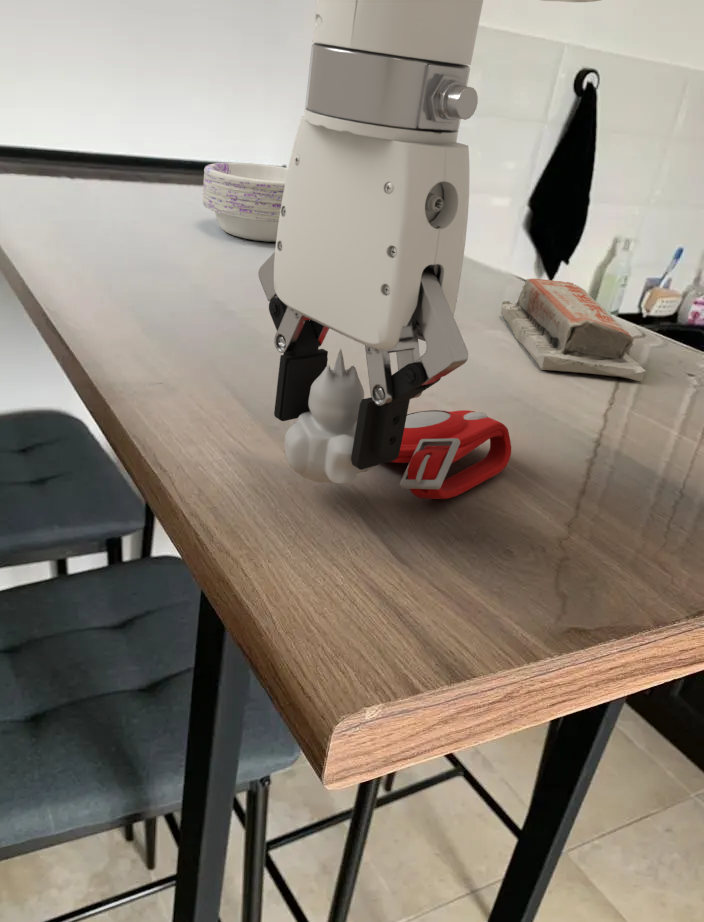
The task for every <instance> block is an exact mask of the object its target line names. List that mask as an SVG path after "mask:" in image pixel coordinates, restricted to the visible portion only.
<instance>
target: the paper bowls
mask: <svg viewBox="0 0 704 922" xmlns="http://www.w3.org/2000/svg"><path fill="white" fill-rule="evenodd" d="M203 172H204V173H203V185H202V187H203V188H202V189H203V190H202V200H203V201H202V205H203V206H204V207H205V208H206V209H208V210H210V211H212V212H214V214H215V218H216V220H217V224H218V225H219V227H220V229H221V230H223V231H224V232H225V233H227V234H229V235H232V236H235V237H238V238H240V239H241V238H242V239H245V240H251V241H257V242H269V243H270V242H272V243H273V242H275V243H276V239H277V230H278V223H279V216H280V210H281V203H282V198H283V192H284V187H285V181H286V177H287V172H288V167H286V166H278V165H270V164H263V163H252V162H250V163H249V162H215V163H210V164H207V165H205V166H204V169H203Z"/></svg>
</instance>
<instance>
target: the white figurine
mask: <svg viewBox="0 0 704 922" xmlns="http://www.w3.org/2000/svg"><path fill="white" fill-rule="evenodd" d="M362 399H365V389H364V387H363V384H362V382H361V380H360V377H359V375H358V371H357V368H356V367H355V365H351V366H350V367H349V368H347V369H346V366H345V360H344V354H343V351H342V348H339V351H338V352H337V357H336V359H335V364H334V367H333V369H332V368H331V366H330V364H327V366H326V368H325V369H324V371H323V372H322V373H321V375H320V376H319V377H318V378H317V379H316V380H315V381H314V382H313V383H312V385H311V390H310V395H309V401H308V405H309V409H310V411H311V412H306V413H303V414H301V415H300V416H299V417H298V418H296V422H295V423H293V424H292V425H291V426H290V427H289V428H288V429H287V431H286V433H285V436H284V455H285V458H286V460H287V462H288V464H289V466H290V467H291V469H292V470H293V471H294V472H295V473H297V474H299V475H301V476H302V477H304V478H305V479H308V480H310V481H313V482H316V483H325V484H326V483H327V484H328V483H334V484H336V485H352V484H353V483H355V481H356V479H357V476H358V475H359V474H360V473H366V472H368V471H369V470H370V469H371V468H372V467H370V468H366V469H362V470H360V469H358V468H357V467H355V466H353V465H352V461H351V456H352V450H353V443H354V437H355V431H356V425H357V418H358V412H359V406H360V403H361V400H362Z"/></svg>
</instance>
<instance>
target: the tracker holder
mask: <svg viewBox="0 0 704 922" xmlns="http://www.w3.org/2000/svg"><path fill="white" fill-rule="evenodd" d="M487 441H489V450H488V453H487V454H486V456H485V457H484V458H482V459H481V460H478V461H477V462H475V463H474V464H472V465H470V466H468V467H466V468H464V469H463V470H461V471H458V472H457V473H455V474H453V475H451V476H449V477H448V478H446V477H447V474H448V472H449V470H450V467H451V465H452V464H453V463H455V462H457V461H459V460H460V459H462V458H464V457H465V456H466V455H468V454H469V453H471V452H472V451H474V450H475V449H477V448H478V447H480V446H481V445H483V444H484V443H485V442H487ZM511 455H512V442H511V437H510V432H509V429H508V427H507V426H506V425H505V424H504V423H502V422H500V421H498V420H496V419H494V418H492V417H489V416H488V415H487V414H486V413H484V412H481V411H475V410H465V409H463V410H453V411H452V410H451V411H447V410H436V409H432V410H421V411H416V412H411V413H407V417H406V422H405V427H404V433H403V438H402V443H401V447H400V452H399V456H398V457H397V459H396V460H394V461H391V462H390V463H397V464H407V463H408V465H407V467H406V469H405V471H404V474H403V475H402V478H401V480H400V481H399V487H400V488H401V489H405V490H408V489H409V490H410V492H411V494H413V495H414V496H415V497H416V498H418V499H427V500H428V499H430V500H448V499H451V498H454V497H458V496H459V495H461V494H464V493H466V492H467V491H469V490H471V489H473V488H474V487H476V486H479V485H480V484H482V483H484V482H485V481H487V480H490V479H492V478H493V477H495V476H497V475H498V474H500V473H501V472H503V470H504V469H505V468H506V467H507V466H508V463H509V462H510V459H511ZM445 478H446V479H445Z"/></svg>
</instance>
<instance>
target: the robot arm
mask: <svg viewBox="0 0 704 922" xmlns="http://www.w3.org/2000/svg"><path fill="white" fill-rule="evenodd" d="M540 1H543V2H565V3H593V2H600V1H601V0H540ZM483 3H484V0H316V2H315V11H314V23H313V29H312V30H313V31H312V38H311V39H312V42H313V43H312V45H311V50H310V57H309V58H310V59H309V68H308V78H307V85H306V96H305V105H304V107H305V108H304V112H303V115H301V117H300V120H299V124H298V127H297V130H296V134H295V138H294V142H293V147H292V150H291V154H290V159H289V162H288V167H287V168H288V172H287V177H286V181H285V187H284V192H283V198H282V203H281V210H280V216H279V223H278V230H277V239H276V242H275V246H274V247H275V248H274V252H273V253H272V254H271V255H270V256H269V257H268V258H267V260H266V261H265V262H264V263H263V264H261V266H259V269H258V279H259V282H260V284H261V287H262V289H263V292H264V293H265V294H264V295H265V297H266V300H267V302H269V303H268V310H269V312H268V313H269V315H270V318H271V320H272V323H273V324H274V327H275V329H276V333H275V335H274V347H275V349H276V350H277V352H278V353H281V355H280V356H279V366H278V374H277V375H278V376H277V385H276V393H275V402H274V411H273V415H274V418H275V419H277V420H279V421H280V422H286V421H291V420H297V419H298V417H299V416H300V415H301V414H303V413H306V412H311V411H310V409H309V405H308V401H309V395H310V390H311V385H312V383H313V382H314V381H315V380H316V379H317V378H318V377H319V376H320V375H321V373H322V372H323V371H324V369H325V368H326V366H328V360H329V358H328V354H329V351H328V350H326V349H324V348H320V347H321V346H322V345H323V342H324V341H325V339H326V337H327V335H328V332H329V330H332V331H334V332H336V333H338V334H340V335H342V336H344V337H346V338H348V339H351V340H352V341H355V342H357V343H359V344H361V345H363V346H364V350H365V358H366V367H367V375H368V383H369V384H368V385H369V392H370V397H366V398H364V399H362V400H361V403H360V406H359V412H358V418H357V425H356V431H355V437H354V443H353V450H352V456H351V461H352V465H353V466H355V467H357V468H358V469H360V470H362V469H366V468H370V467H371V468H372V467H376V466H380V465H383V464H388V463H392V462H391V461H394V460H396V459H397V457H398V456H399V452H400V447H401V443H402V438H403V433H404V427H405V422H406V417H407V414H408V411H409V407H410V400H412V399H417V398H419V397H420V396H421V395H423V392H425V390H428V389H429V388H430V387H432V386H433V385H435V384H437V383H438V382H439V381H440V380H441V379H442V378H443V377H446V376H448V375H449V374H450V373H452V372H454V371H455V370H457V369H458V368H460V367H461V366H463V365H464V364H466V363H467V361H468V359H469V350H468V347H467V344H466V343H465V340H464V338H463V336H462V334H461V331H460V329H459V326H458V324H457V322H456V319H455V313H456V307H457V301H458V297H459V291H460V285H461V277H462V271H463V266H464V265H463V263H464V255H465V250H466V249H465V248H466V240H467V230H468V220H469V205H470V204H469V203H470V150H469V149H470V147H469V145H467V144H465V143H460V142H457V141H458V136H459V129H460V124H461V120H464V121H466V120H469V119H470V118H471V117H473V115H474V114H475V112H476V110H477V106H478V104H479V103H478V102H479V101H478V100H479V98H478V97H479V96H478V92H477V90H476V89H475V88H474V87H472V86H468V83H469V77H470V72H471V67H470V66H471V65H472V60H473V55H474V49H475V45H476V39H477V35H478V29H479V25H480V18H481V15H482V14H481V13H482V9H483ZM419 340H420V341H423V342H425V344H426V349H425V352H424V353H423V354H422V355H420V345H419V344H420V343H419ZM392 353H396V363H397V371H395V372H394V373H393V374H392V365H391V356H390V355H391V354H392ZM371 468H370V469H371Z"/></svg>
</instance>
